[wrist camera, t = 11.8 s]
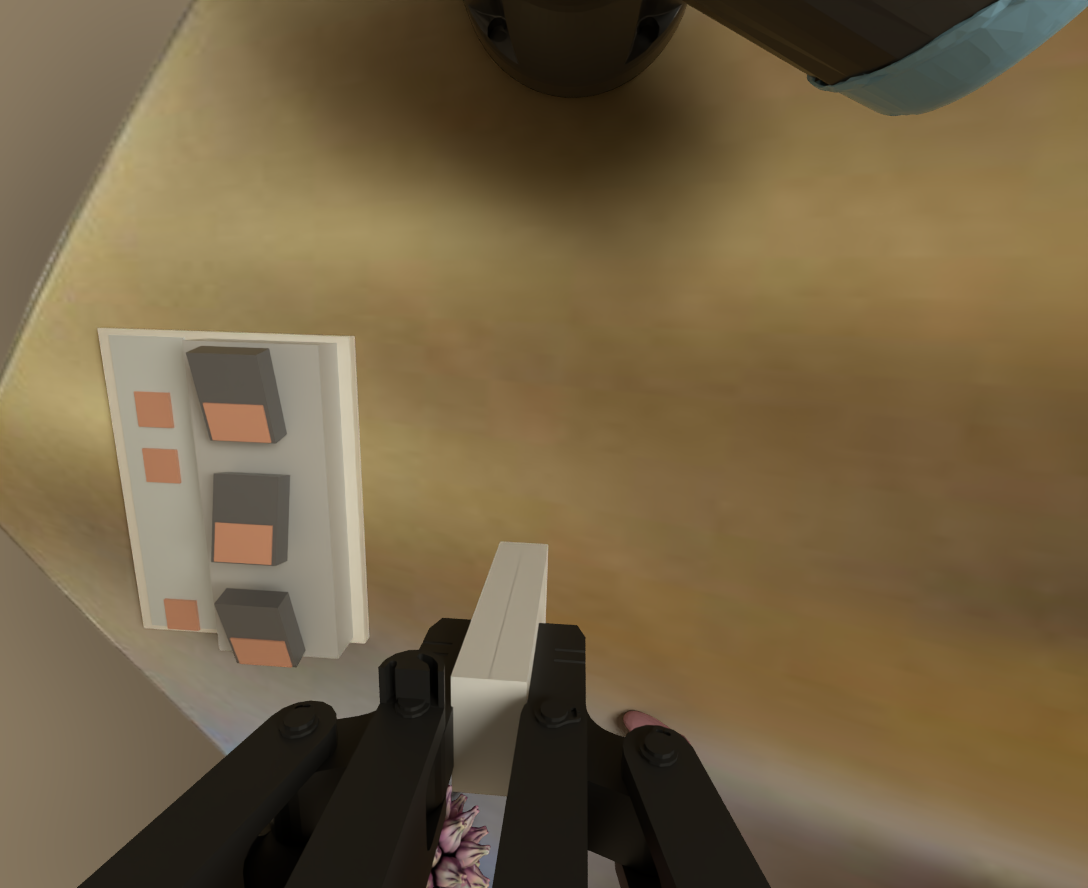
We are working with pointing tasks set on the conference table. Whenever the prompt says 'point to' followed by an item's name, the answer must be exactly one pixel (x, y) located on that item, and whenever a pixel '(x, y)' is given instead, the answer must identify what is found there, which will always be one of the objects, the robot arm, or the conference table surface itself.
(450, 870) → the flower
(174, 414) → the switch panel
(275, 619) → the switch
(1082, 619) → the conference table surface
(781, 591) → the conference table surface
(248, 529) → the middle switch
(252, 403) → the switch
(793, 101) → the conference table surface
